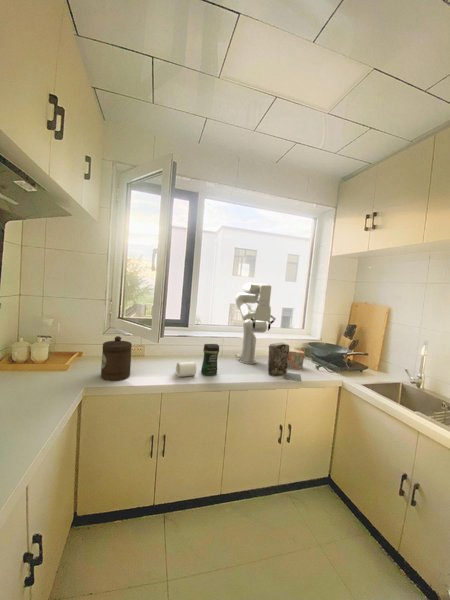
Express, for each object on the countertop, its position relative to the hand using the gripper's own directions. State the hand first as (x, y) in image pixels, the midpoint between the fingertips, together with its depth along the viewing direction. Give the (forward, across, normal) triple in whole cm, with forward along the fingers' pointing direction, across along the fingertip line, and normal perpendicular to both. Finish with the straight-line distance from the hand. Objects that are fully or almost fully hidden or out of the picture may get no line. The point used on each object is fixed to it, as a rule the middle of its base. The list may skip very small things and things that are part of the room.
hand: (261, 329), depth 169 cm
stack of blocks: (+29, +20, +21) cm, 41 cm away
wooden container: (+29, -74, -45) cm, 91 cm away
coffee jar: (+28, -28, -19) cm, 44 cm away
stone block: (+28, +13, 0) cm, 31 cm away
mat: (+28, +23, 0) cm, 36 cm away
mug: (+29, -41, -27) cm, 57 cm away
